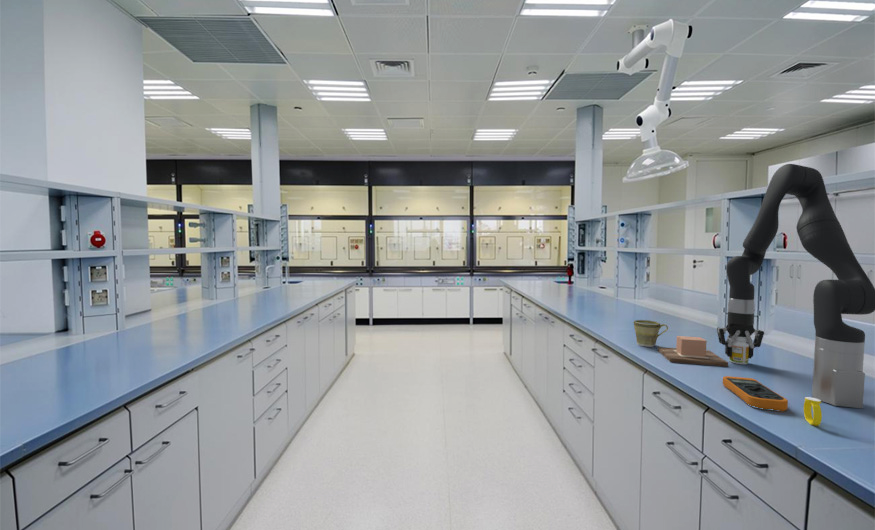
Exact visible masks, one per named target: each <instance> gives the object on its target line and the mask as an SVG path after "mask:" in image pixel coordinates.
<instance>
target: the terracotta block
mask: <svg viewBox="0 0 875 530" xmlns="http://www.w3.org/2000/svg"><path fill="white" fill-rule="evenodd" d="M675 348H676V351H677V352H678V353H679V354H680V355H687V356H700V357H706V350H707V340H706V339H705V338H703V337H700V336H699V337H698V336H686V335H682V336H681V335H677V336H676V347H675Z"/></svg>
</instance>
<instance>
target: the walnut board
mask: <svg viewBox="0 0 875 530" xmlns="http://www.w3.org/2000/svg"><path fill="white" fill-rule="evenodd" d="M657 351H658V353H660V354H661V355H662V356H663V357H664V359H666V360H667V361H668V360H669V361H670V363H675V362H676V363H677V364H688V365H689V364H690V365H700V366H701V365H702V366H712V365H714V367H725V368H726V367H729V362H728V361H726V360H725V359H723V358H722V357H720V356H719V355H717V354H716V353H714V352H713V351H711V350H709V349H708V350H707V349H706V357H700V356H687V355H680V354H679V353H678V352H677V351H676V347H665V346H658V347H657ZM669 361H668V362H669ZM676 363H675V364H676Z"/></svg>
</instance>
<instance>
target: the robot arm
mask: <svg viewBox="0 0 875 530" xmlns="http://www.w3.org/2000/svg"><path fill="white" fill-rule="evenodd" d="M786 195H790V196H794V197H796V198H797V200H798V201H799V203H800V206H801V209H802V212H801V214H800V216H799V218H798V220H797V224H796V233H797V236H798V238H799V240H800V243H801V245H802V248H803V249H804V250H805V251H806V252H807V253H809V254H810V255H811V256H812V257H813V258H815V259H816V260H818V261H819V262H820V263H822V265H824V266H826V267H827V268H828V269H829V270H831V271H832V273H833V274H834V275H835V276H836V278H837V279H823V280H820V281H819V282H817V284H816V285H815V287H814V290H813V299H812V300H813V301H812V302H813V325H814V331H815V335H814V336H815V338H814V339H815V340H814V352H813V353H814V354H813V356H814V357H813V372H812V389H811V397H812V398H816V399H819V400H821V402H823V403H827V404H830V405H831V406H835V407H844V408H853V409H855V408H856V409H864V395H865V394H864V393H865V378H866V377H865V376H866V373H865V372H864V360H865V357H864V356H865V345H866V344H865V343H866V342H865V341H866V333H865V331H864V330H862V329H860V328H857V327H855V326H851V325H848V324H846V323H845V322H844V320H843V316H842V315H859V316H860V315H862V316H863V315H869V314H872V313H874V312H875V286H874V285H873V283H872V281H871V279H870V278H869V277H868V275H867V274H866V273H867V272H865V270H864V268H863V267H862V266H861V264H860V263H859V261H858V259H857V258H856V257H857V256H856V255H855V254H854V252H853V250H852V248H851V246H850V244H849V242H848V239H847V236H846V234H845V231H844V230H843V227H842V225H841V223H840V221H839V219H838V218H837V215H836V213H835V211H834V208H833V206H832V204H831V201H830V199H829V196H828V192H827V189H826V185H825V181H824V177H823V175H822V173H821V172H820V171H819V170H818V169H815V168H813V167H811V166H804V165H800V164H794V163H787V164H783V165H782V166H780V167H778V169H776V171H775V172H774V173H773V175H772V177H771V179H770V181H769V184H768V187H767V189H766V191H765V194H764V197H763V199H762V202H761V204H760V205H761V206H760V208H759V211H758V214H757V215H756V218H755V220H754V223H753V224H752V227H750V230H749V232H748V233H747V234H746V237H745V239H744V240H743V242H742V247H743V252H742V254H741V255H737V256H733V257H731V258H730V259H728V262H727V264H726V274H727V281H728V285H729V292H728V293H729V294H728V295H729V297H728V301H727V317H726V318H727V320H726V326H725V327H717V328H716V333H717V338H718V343H720V344H722V345H723V346H724V347H725V348H724V353H725V355H726V356H727V357H728V358H730V357H732V347H731V346H732V344H733V342H735V340H736V338H737V337H746V338H747V341H746V343H748V344H749V356H748V359H752V357H754V349H755V348H760V347H761V345H762V342H763V338H764V335H765V332H764V331H763V330H762V329H755V328H754V324H755V312H756V311H755V310H756V309H755V307H756V305H755V285H754V284H753V283H751V282H750V276H752V275H754V274H756V273H757V272H758V271H759V269H761V267H762V264H763V261H764V259H765V256H766V253H767V250H768V249H769V247H771V246H770V245H771V243H772V242H773V241H774V239H775V237H776V235H777V234H778V230H779V210H780V206H781V203H782V201H783V199H784V197H785V196H786ZM726 332H727V333H728V335H727V337H726V336H725V335H726ZM753 334H754V338H753V339H752V335H753ZM725 337H726V338H725Z"/></svg>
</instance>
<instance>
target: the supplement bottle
mask: <svg viewBox="0 0 875 530" xmlns="http://www.w3.org/2000/svg"><path fill="white" fill-rule="evenodd" d="M746 341H747V338H746V337H737V338H736V340H735V342H733V344H732V346H731V347H732V357H728V358H729V362H731V363H733V364H736V365H748V364H749V358H748V356H749V344H748V343H746Z"/></svg>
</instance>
